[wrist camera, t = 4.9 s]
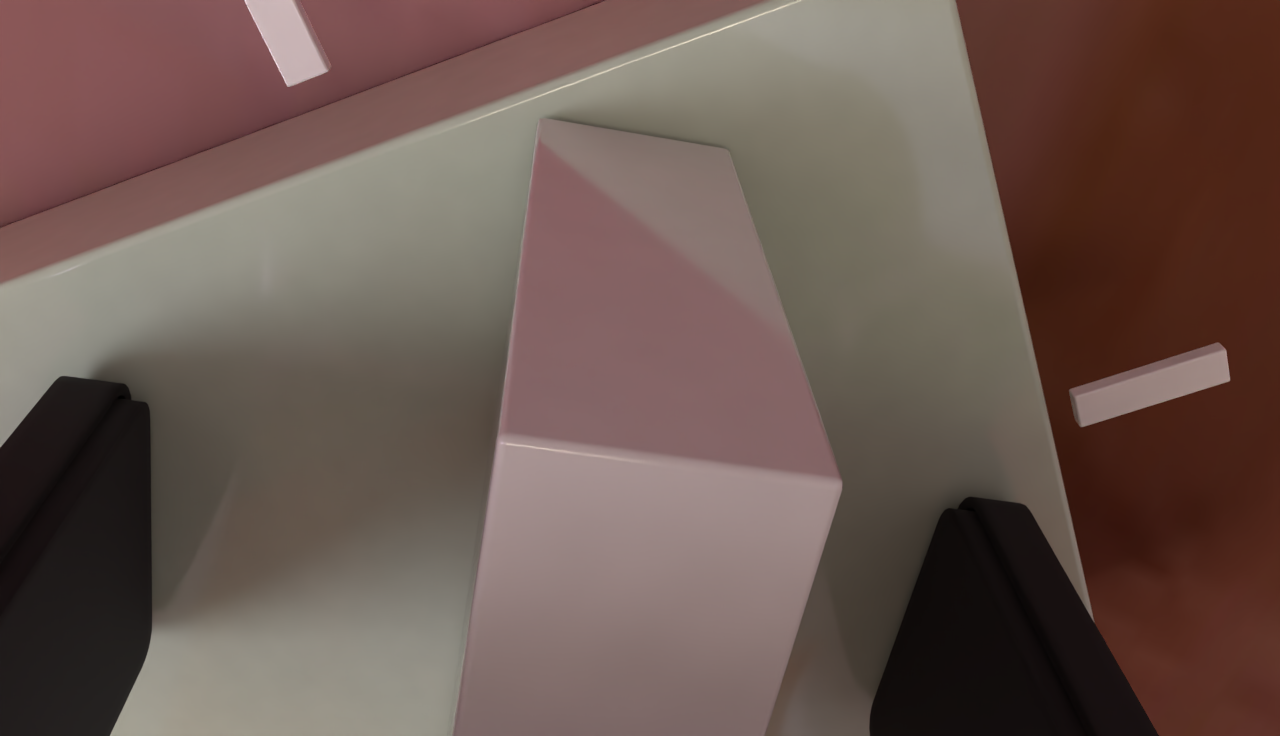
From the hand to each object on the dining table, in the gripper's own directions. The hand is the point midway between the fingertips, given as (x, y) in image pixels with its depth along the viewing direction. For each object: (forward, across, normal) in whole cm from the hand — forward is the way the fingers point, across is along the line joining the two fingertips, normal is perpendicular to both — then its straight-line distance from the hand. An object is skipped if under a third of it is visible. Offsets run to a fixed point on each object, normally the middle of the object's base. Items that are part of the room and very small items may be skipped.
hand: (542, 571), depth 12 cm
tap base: (+3, +1, +1) cm, 3 cm away
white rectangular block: (0, 0, 0) cm, 0 cm away
